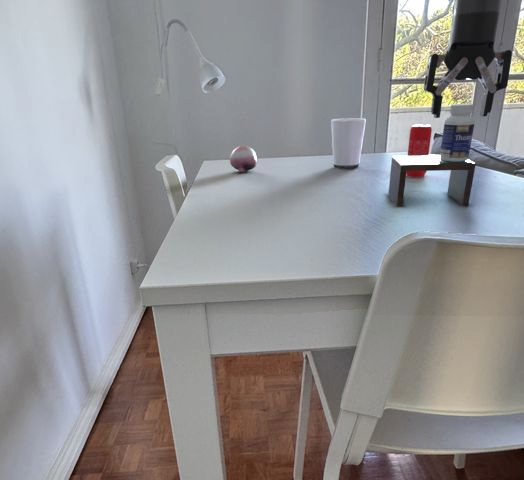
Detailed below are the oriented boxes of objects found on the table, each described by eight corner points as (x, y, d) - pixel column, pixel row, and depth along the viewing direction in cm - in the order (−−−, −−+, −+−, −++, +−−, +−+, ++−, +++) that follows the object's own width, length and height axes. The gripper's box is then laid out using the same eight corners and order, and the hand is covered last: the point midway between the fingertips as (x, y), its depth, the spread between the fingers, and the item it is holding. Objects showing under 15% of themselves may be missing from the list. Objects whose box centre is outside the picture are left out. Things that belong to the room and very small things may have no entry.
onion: (260, 169, 141) (259, 143, 137) (253, 174, 134) (252, 147, 131) (234, 169, 142) (233, 144, 139) (227, 174, 136) (225, 147, 132)
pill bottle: (452, 163, 89) (461, 105, 85) (433, 159, 94) (440, 104, 89) (474, 160, 91) (484, 104, 86) (454, 157, 96) (462, 103, 91)
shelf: (452, 193, 104) (459, 153, 100) (468, 205, 94) (476, 162, 90) (388, 194, 105) (392, 155, 101) (396, 206, 95) (401, 163, 91)
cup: (369, 166, 140) (372, 118, 133) (350, 170, 134) (353, 121, 127) (341, 163, 146) (344, 117, 139) (322, 167, 140) (323, 120, 133)
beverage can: (402, 176, 123) (407, 126, 117) (409, 173, 127) (414, 124, 121) (421, 178, 120) (428, 126, 114) (428, 174, 124) (435, 124, 118)
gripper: (438, 11, 78) (425, 119, 86) (528, 6, 77) (506, 117, 85) (428, 17, 85) (417, 117, 93) (511, 12, 83) (492, 114, 91)
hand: (459, 116), depth 89 cm, fingers open, 8 cm apart
